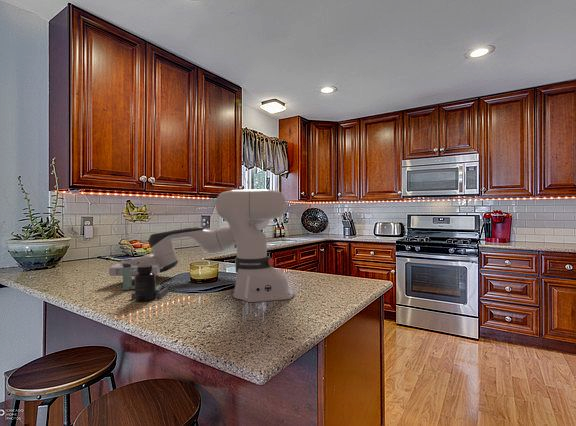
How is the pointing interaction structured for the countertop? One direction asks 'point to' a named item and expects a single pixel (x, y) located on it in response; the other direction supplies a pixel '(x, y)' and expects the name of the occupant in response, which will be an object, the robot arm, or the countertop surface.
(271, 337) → the countertop surface
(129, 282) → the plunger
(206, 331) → the countertop surface
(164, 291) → the channel
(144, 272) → the supplement bottle
